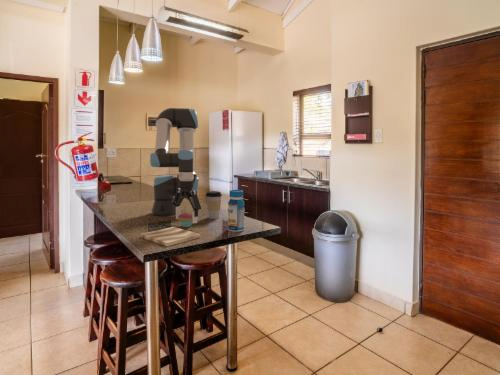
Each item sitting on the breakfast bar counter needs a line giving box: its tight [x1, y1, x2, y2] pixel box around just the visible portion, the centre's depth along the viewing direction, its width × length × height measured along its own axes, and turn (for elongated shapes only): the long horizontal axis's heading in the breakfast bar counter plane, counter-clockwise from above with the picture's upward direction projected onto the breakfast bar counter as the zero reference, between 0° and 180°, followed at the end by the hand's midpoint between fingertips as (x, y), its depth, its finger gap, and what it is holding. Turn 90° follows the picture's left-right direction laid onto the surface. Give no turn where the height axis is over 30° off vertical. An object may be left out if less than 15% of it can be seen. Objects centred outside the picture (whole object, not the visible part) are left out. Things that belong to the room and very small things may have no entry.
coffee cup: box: [205, 190, 223, 220], centre depth 188 cm, size 9×9×15 cm
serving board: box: [140, 226, 201, 247], centre depth 148 cm, size 20×18×2 cm
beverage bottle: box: [227, 189, 246, 233], centre depth 161 cm, size 8×8×20 cm
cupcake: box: [177, 203, 193, 228], centre depth 168 cm, size 9×8×12 cm
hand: (186, 220), depth 169 cm, fingers open, 13 cm apart
